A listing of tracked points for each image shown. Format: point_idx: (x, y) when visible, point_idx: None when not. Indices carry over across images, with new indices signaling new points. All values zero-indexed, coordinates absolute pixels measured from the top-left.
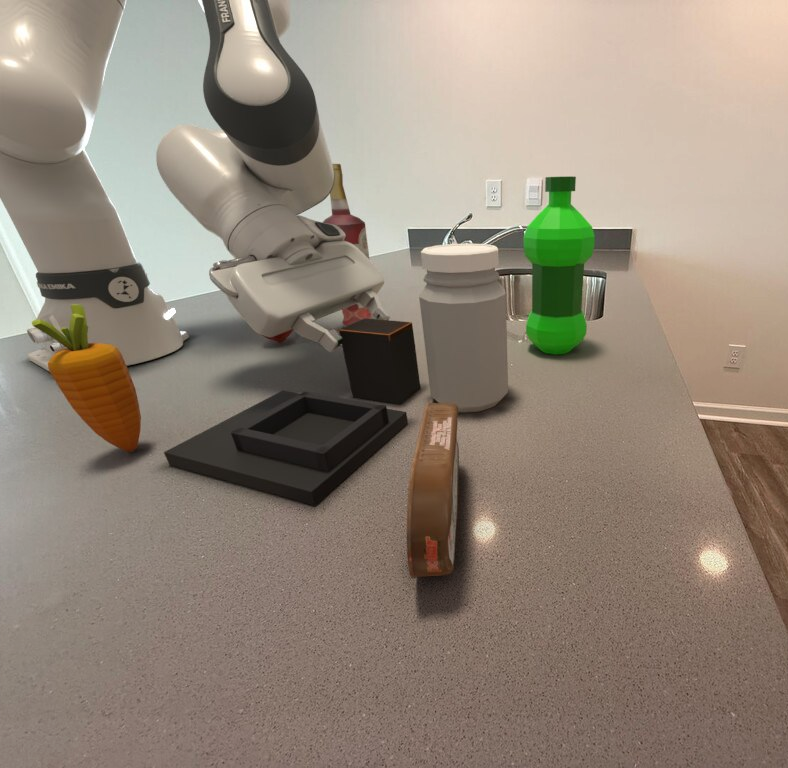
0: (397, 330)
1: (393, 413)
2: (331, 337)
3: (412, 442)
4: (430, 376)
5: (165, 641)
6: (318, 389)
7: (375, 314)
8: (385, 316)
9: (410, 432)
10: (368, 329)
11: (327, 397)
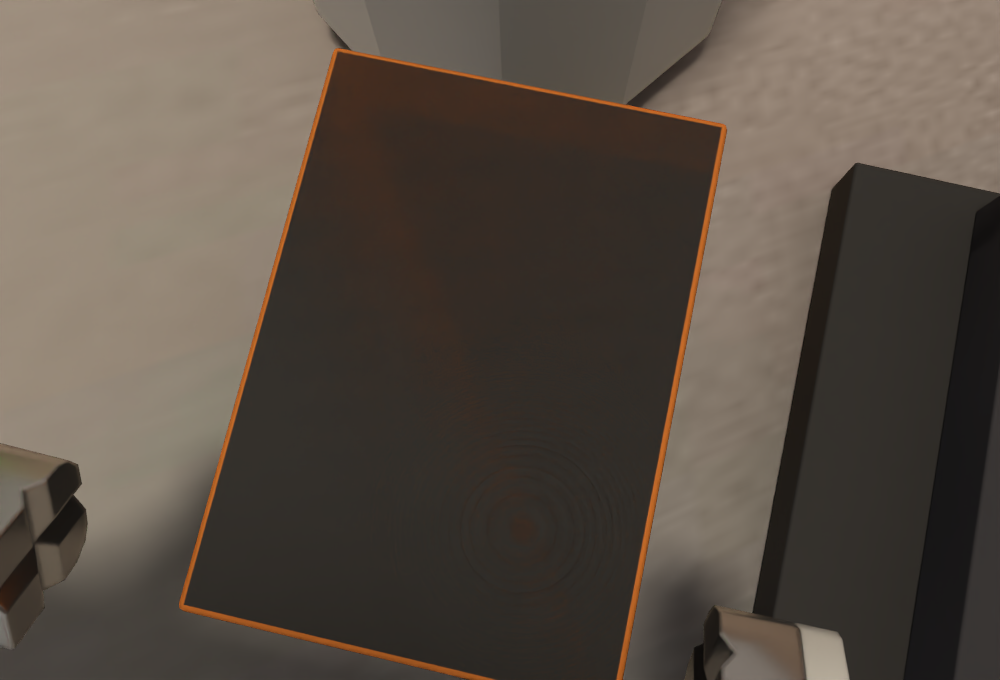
0: (587, 99)
1: (884, 222)
2: (834, 676)
3: (992, 113)
4: (659, 21)
5: None
6: None
7: (11, 553)
8: (5, 453)
9: (910, 150)
10: (586, 384)
11: (993, 585)
